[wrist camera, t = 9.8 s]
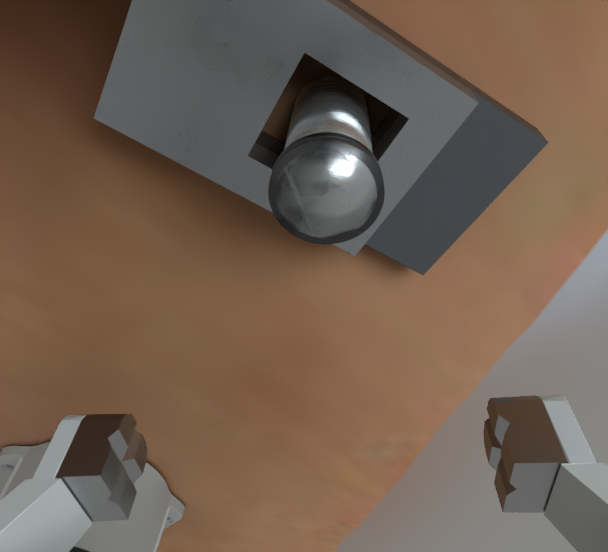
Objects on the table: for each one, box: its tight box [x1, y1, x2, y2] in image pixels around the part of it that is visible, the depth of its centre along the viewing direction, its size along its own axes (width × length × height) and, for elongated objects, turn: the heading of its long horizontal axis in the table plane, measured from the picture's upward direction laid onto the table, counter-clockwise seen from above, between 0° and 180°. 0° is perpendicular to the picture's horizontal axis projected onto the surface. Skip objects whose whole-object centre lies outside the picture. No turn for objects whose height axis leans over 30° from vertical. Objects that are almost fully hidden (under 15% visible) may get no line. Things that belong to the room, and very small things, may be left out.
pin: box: [268, 76, 385, 244], centre depth 24 cm, size 5×5×9 cm
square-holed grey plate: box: [94, 0, 548, 275], centre depth 26 cm, size 10×20×4 cm, turn 60°
